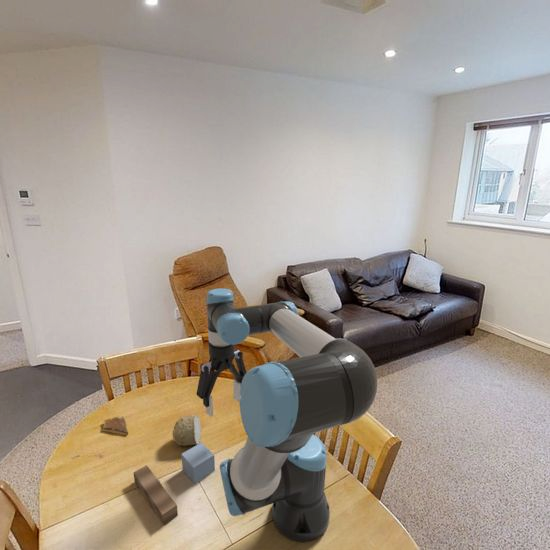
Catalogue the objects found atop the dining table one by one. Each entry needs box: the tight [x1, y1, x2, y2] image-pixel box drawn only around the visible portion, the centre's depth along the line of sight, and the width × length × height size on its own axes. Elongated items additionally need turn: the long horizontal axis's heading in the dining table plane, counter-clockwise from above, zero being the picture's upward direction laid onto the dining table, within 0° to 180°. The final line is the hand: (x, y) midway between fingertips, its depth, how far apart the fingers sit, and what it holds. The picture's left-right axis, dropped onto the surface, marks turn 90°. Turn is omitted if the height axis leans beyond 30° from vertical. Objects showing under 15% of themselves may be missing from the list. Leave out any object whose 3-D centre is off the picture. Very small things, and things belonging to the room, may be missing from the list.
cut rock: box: [172, 414, 202, 446], centre depth 118 cm, size 10×10×10 cm
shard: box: [101, 415, 129, 436], centre depth 124 cm, size 11×8×2 cm
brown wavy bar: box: [133, 464, 179, 526], centre depth 98 cm, size 18×4×4 cm, turn 44°
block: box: [181, 442, 216, 485], centre depth 107 cm, size 7×7×6 cm
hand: (223, 406), depth 110 cm, fingers open, 10 cm apart
